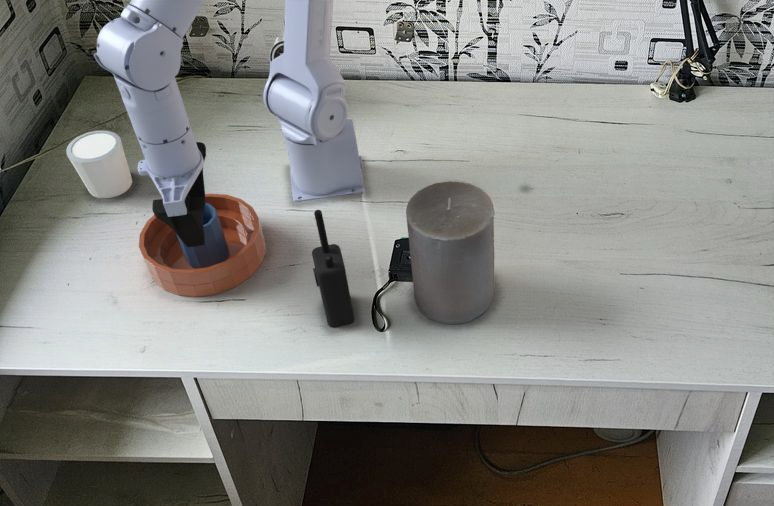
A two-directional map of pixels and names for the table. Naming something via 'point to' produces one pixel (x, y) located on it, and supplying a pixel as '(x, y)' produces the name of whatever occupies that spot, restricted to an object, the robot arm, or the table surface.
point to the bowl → (187, 281)
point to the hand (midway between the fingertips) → (196, 222)
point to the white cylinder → (100, 163)
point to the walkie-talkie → (332, 279)
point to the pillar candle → (452, 251)
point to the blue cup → (208, 243)
